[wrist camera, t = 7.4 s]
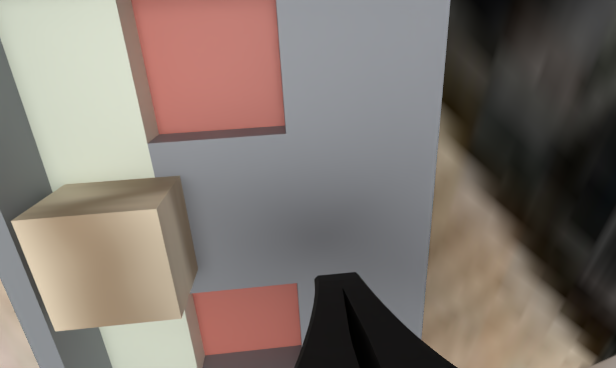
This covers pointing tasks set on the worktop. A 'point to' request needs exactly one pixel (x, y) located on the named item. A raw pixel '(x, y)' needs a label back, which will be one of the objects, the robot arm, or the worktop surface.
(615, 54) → the worktop surface
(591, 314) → the worktop surface
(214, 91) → the trap tray
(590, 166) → the worktop surface
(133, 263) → the maple block
